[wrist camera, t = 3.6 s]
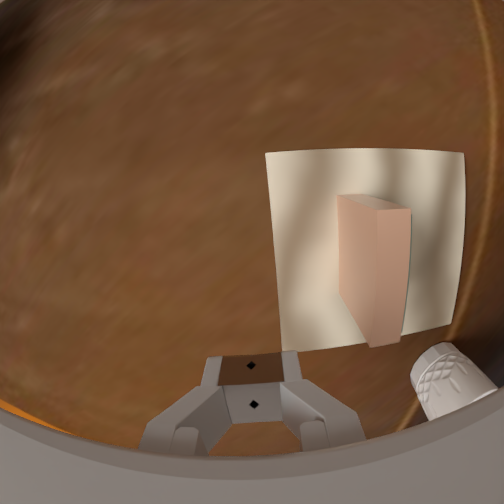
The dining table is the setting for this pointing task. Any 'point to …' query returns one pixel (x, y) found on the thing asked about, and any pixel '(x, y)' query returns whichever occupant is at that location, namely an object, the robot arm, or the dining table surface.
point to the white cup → (447, 380)
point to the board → (326, 235)
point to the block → (374, 264)
